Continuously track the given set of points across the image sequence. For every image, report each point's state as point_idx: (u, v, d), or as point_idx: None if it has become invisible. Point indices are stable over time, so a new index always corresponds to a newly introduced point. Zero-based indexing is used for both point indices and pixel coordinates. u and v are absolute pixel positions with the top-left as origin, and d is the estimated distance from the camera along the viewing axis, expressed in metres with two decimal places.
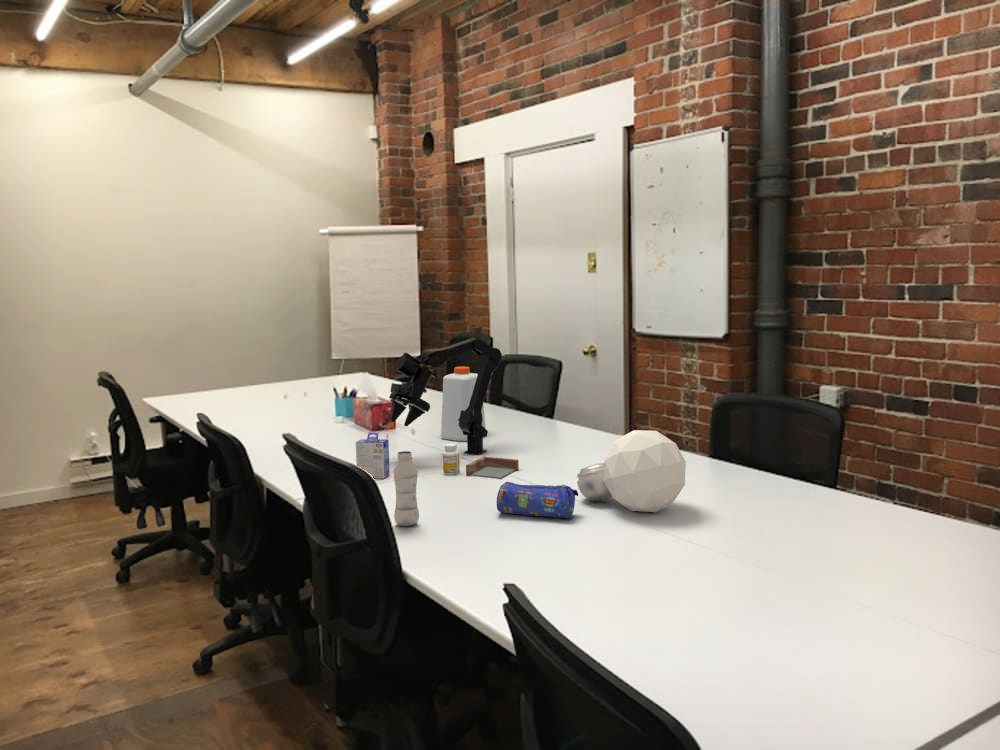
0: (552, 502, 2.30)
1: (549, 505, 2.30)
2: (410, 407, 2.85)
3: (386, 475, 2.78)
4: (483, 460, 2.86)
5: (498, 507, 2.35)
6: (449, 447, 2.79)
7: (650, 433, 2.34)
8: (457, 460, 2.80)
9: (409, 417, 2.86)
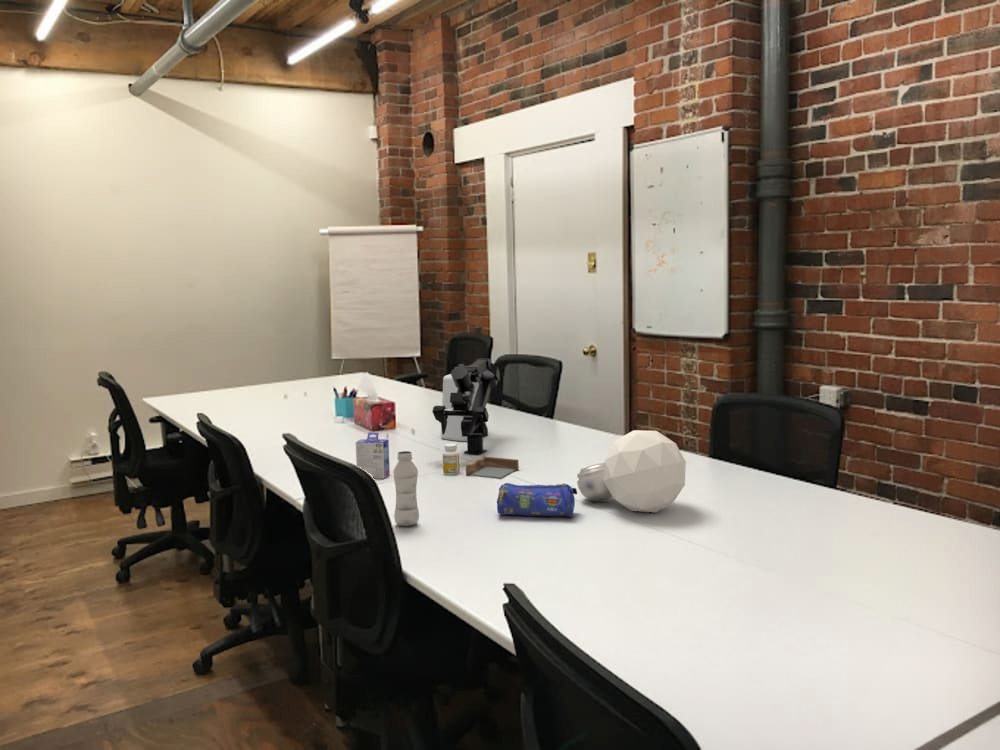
0: (554, 501, 2.30)
1: (552, 504, 2.30)
2: (475, 416, 2.87)
3: (386, 475, 2.78)
4: (483, 460, 2.86)
5: (499, 509, 2.33)
6: (449, 447, 2.79)
7: (650, 433, 2.34)
8: (457, 460, 2.80)
9: (473, 426, 2.87)
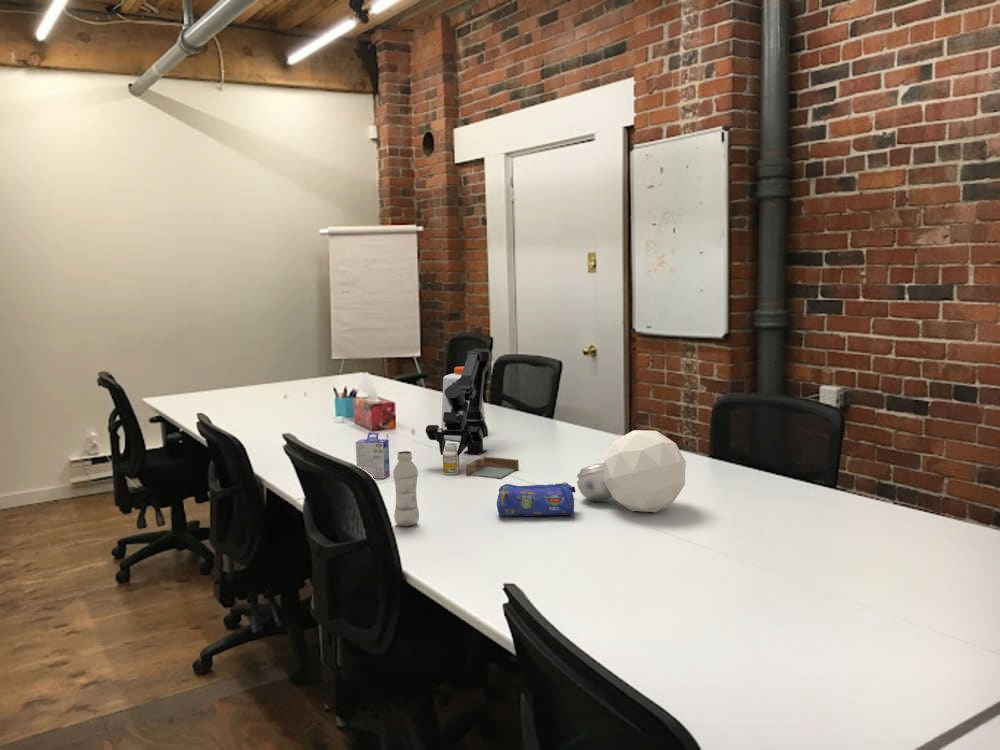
0: (556, 500, 2.31)
1: (554, 503, 2.31)
2: (464, 435, 2.80)
3: (386, 475, 2.78)
4: (483, 460, 2.86)
5: (500, 510, 2.32)
6: (449, 447, 2.79)
7: (650, 433, 2.34)
8: (457, 460, 2.80)
9: (462, 446, 2.80)
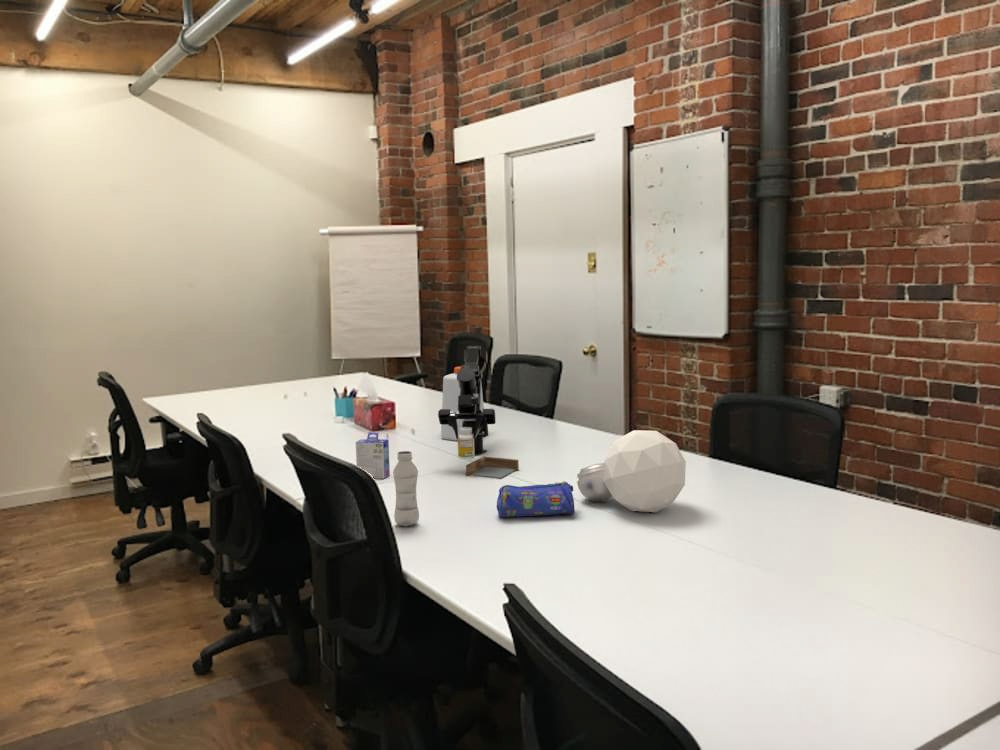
0: (558, 500, 2.32)
1: (555, 502, 2.32)
2: (479, 418, 2.79)
3: (386, 475, 2.78)
4: (483, 460, 2.86)
5: (502, 511, 2.31)
6: (465, 430, 2.77)
7: (650, 433, 2.34)
8: (473, 443, 2.78)
9: (478, 429, 2.79)
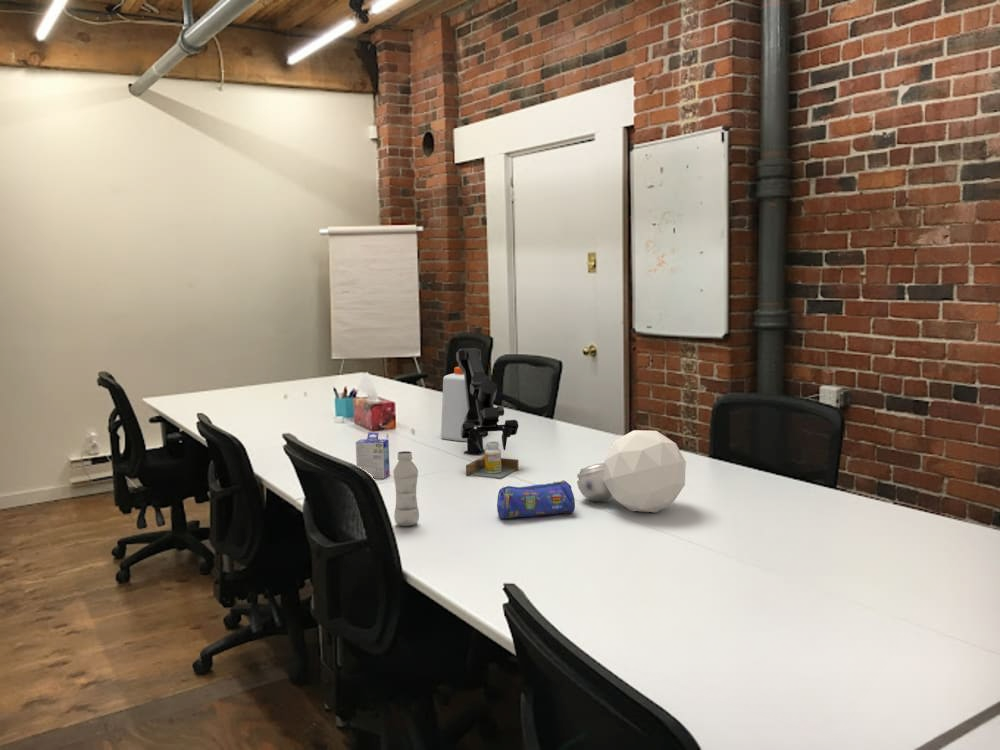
0: (559, 499, 2.33)
1: (557, 501, 2.33)
2: (507, 429, 2.81)
3: (386, 475, 2.78)
4: (483, 460, 2.86)
5: (505, 513, 2.29)
6: (494, 445, 2.78)
7: (650, 433, 2.34)
8: (500, 457, 2.80)
9: (506, 440, 2.81)
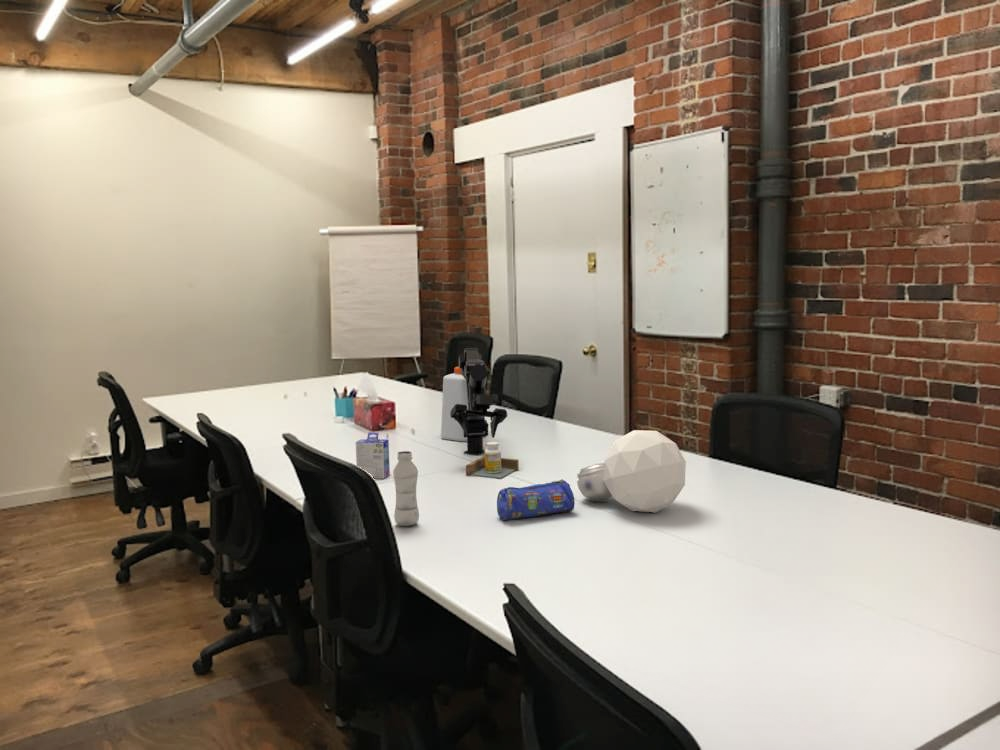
0: (559, 498, 2.34)
1: (558, 501, 2.33)
2: (498, 418, 2.87)
3: (386, 475, 2.78)
4: (483, 460, 2.86)
5: (508, 514, 2.28)
6: (494, 445, 2.78)
7: (650, 433, 2.34)
8: (500, 457, 2.80)
9: None
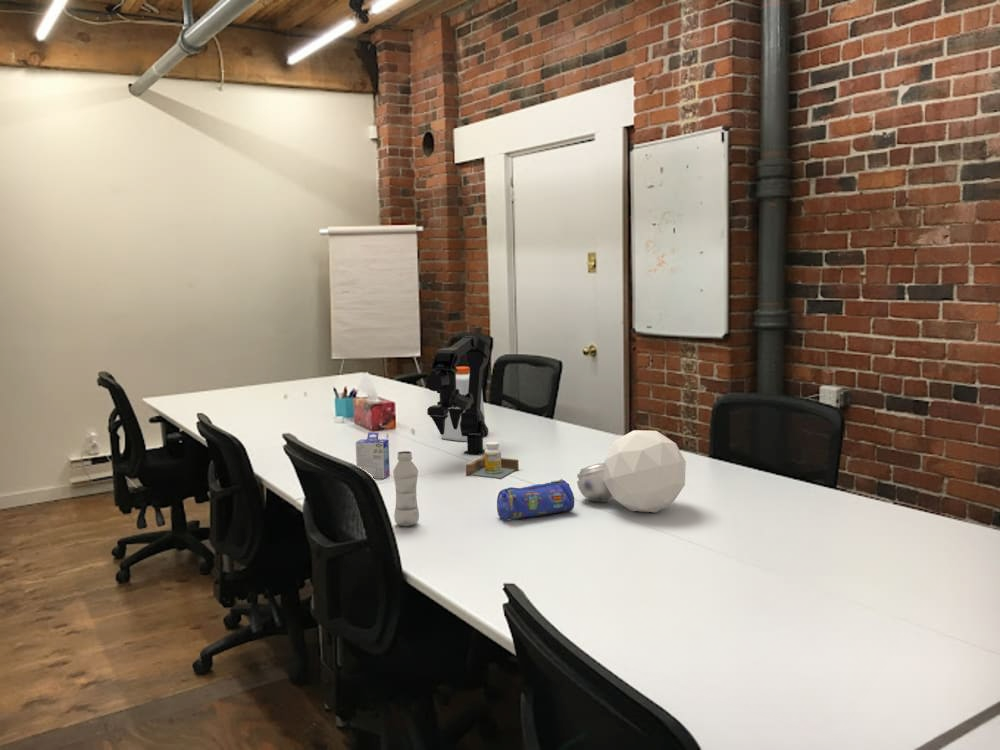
0: (559, 497, 2.34)
1: (558, 500, 2.33)
2: (463, 411, 2.93)
3: (386, 475, 2.78)
4: (483, 460, 2.86)
5: (509, 515, 2.28)
6: (494, 445, 2.78)
7: (650, 433, 2.34)
8: (500, 457, 2.80)
9: None
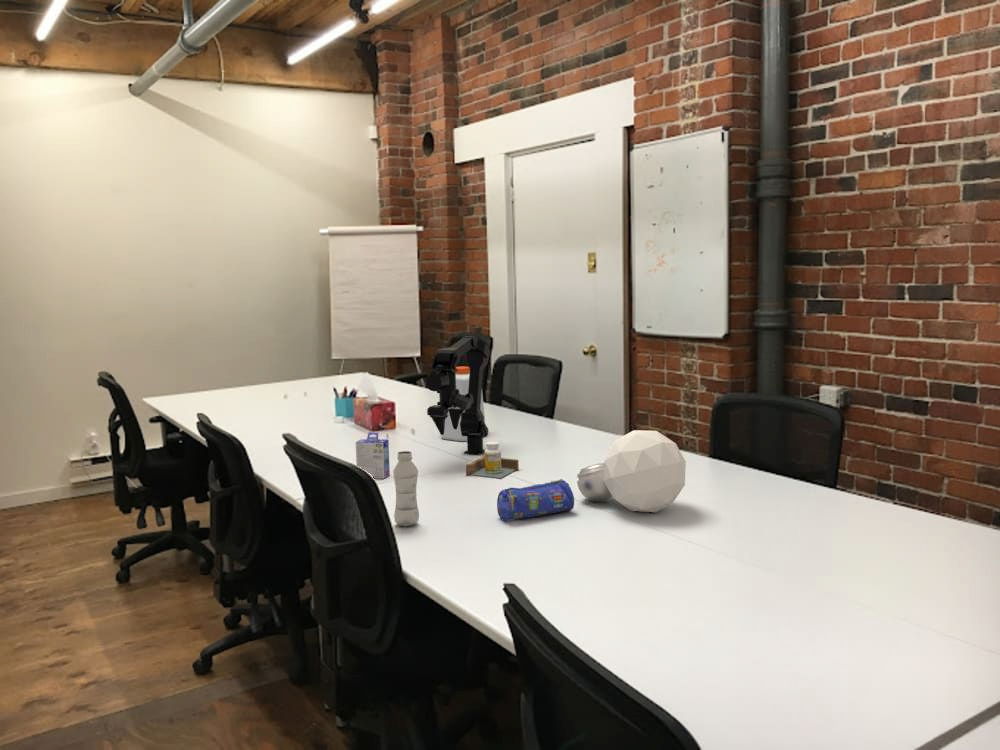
0: (560, 497, 2.34)
1: (558, 500, 2.34)
2: (462, 411, 2.93)
3: (386, 475, 2.78)
4: (483, 460, 2.86)
5: (510, 515, 2.28)
6: (494, 445, 2.78)
7: (650, 433, 2.34)
8: (500, 457, 2.80)
9: None
